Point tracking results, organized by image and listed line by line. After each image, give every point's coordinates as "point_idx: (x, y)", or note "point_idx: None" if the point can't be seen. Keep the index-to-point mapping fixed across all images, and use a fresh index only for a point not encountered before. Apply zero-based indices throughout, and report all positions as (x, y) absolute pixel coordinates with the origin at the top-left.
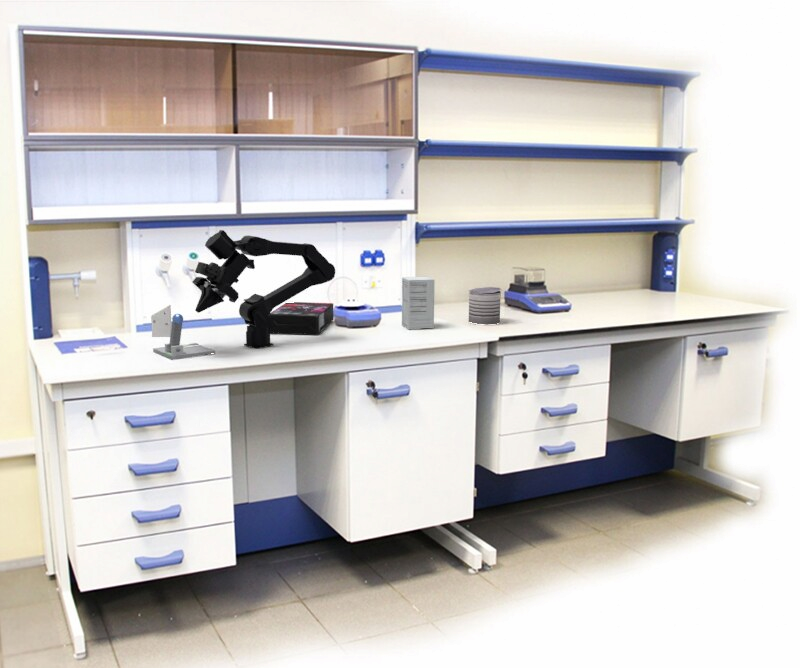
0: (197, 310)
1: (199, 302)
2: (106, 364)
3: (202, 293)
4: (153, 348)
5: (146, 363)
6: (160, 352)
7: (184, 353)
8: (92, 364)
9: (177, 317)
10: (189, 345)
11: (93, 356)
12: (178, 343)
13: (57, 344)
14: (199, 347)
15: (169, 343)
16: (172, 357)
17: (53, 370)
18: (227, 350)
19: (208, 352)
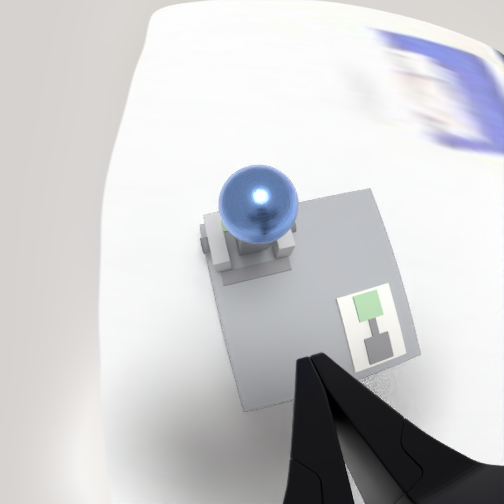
0: (296, 368)
1: (353, 410)
2: (224, 65)
3: (455, 477)
4: (368, 189)
5: (184, 147)
6: (307, 202)
7: (221, 278)
8: (240, 45)
9: (223, 190)
10: (368, 325)
11: (338, 58)
12: (238, 247)
13: (466, 53)
14: None
15: None
16: (200, 228)
17: (215, 4)
18: None
19: (236, 383)
